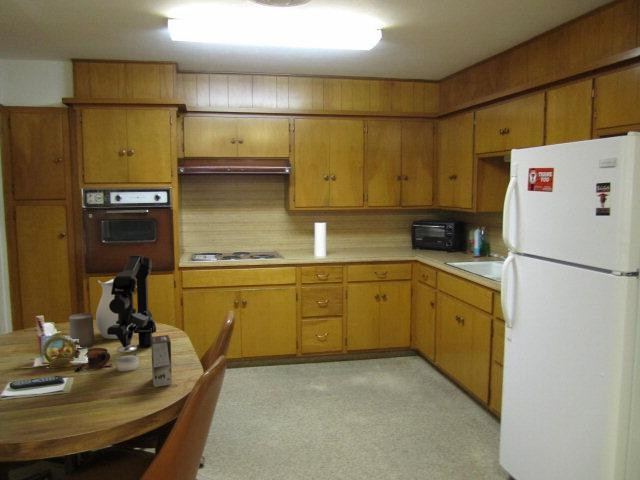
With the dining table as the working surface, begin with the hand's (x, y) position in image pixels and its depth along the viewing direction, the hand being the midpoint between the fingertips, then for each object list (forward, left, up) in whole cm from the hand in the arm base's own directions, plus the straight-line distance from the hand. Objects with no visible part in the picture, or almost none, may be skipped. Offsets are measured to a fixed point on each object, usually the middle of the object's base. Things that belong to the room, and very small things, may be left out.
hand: (126, 345), depth 193 cm
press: (-1, 0, -9) cm, 9 cm away
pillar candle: (-24, -33, -9) cm, 42 cm away
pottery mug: (-1, -13, -9) cm, 16 cm away
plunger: (0, 0, -1) cm, 1 cm away
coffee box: (+12, +19, -9) cm, 24 cm away
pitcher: (-43, -25, -9) cm, 51 cm away
